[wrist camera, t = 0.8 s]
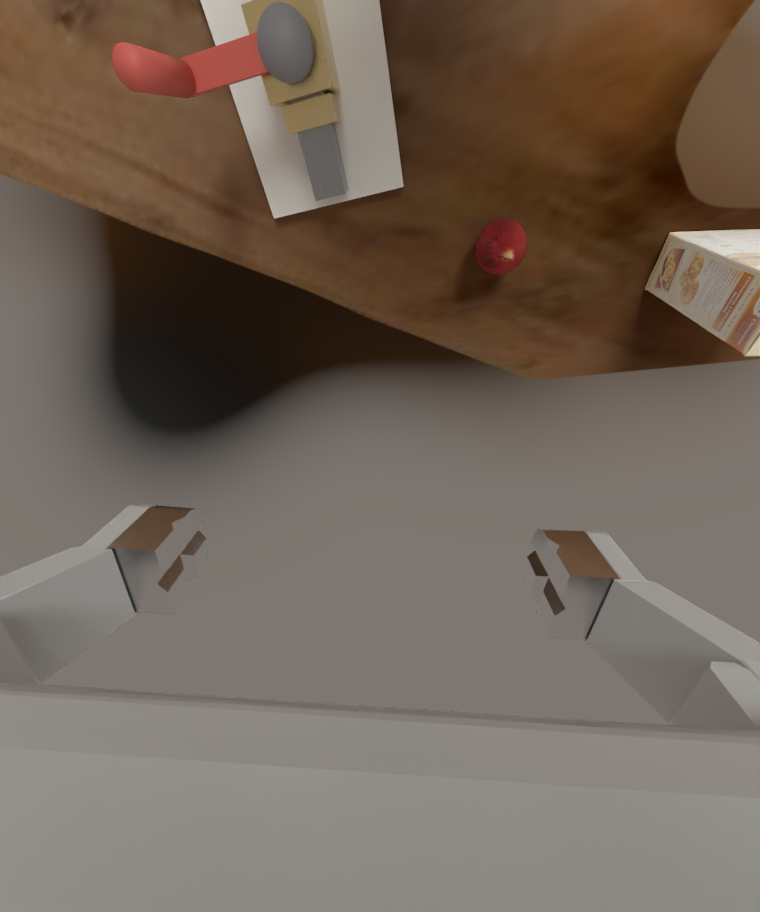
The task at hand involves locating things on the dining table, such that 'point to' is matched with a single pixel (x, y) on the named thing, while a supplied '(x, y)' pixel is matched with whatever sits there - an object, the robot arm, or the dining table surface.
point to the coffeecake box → (713, 283)
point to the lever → (223, 59)
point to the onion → (500, 246)
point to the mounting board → (359, 103)
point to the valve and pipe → (310, 100)
